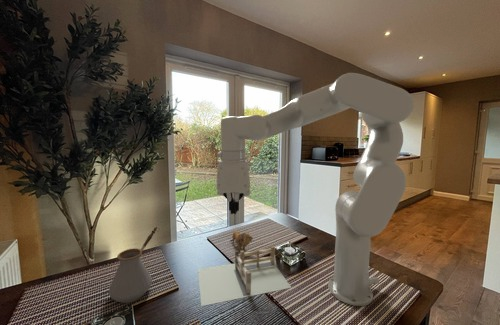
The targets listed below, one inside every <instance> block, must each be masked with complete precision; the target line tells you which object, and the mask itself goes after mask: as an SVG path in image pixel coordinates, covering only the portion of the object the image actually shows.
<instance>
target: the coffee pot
mask: <svg viewBox="0 0 500 325" xmlns="http://www.w3.org/2000/svg"><path fill="white" fill-rule="evenodd" d="M157 229H158V232H160V231H161V230H160V228H159V227H157V226H155V227H154V228H153V230H152V231H151V232H150V234H149V235H148V236H147V238H146V239H145V241H144V243H143V244H142V247H141V248H135V247H134V248H128V249H125V250H123V251H121V252H119V253H118V254H117V256H116V258H117V259H118V260H119V264H118V267H117V270H116V272H115V275H114V276H113V278H112V281H111V284H110V286H109V289H108V294H109V295H108V296H109V297H110V298H111V299H112V300H113V301H115V302H118V303H122V304H128V303H133V302H135V301H137V300H139V299H140V298H143V296H144V295H145V294H146V293H147V292H148V291H149V290H150V288H151V286H152V282H153V279H152V276H151V274H150V273H149V270H148V269H147V267H146V266H145V264H144V263H143V261H142V259H141V256H142V253H143V251H144V250H145V248H146V247H147V245H148V244H149V242H150V241H151V239H152V238H153V236H154V235H155V234H156V232H157Z"/></svg>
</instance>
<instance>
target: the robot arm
mask: <svg viewBox="0 0 500 325" xmlns="http://www.w3.org/2000/svg"><path fill="white" fill-rule="evenodd" d="M414 107H415V101H414V99H413V96H412V95H411V94H410V93H409V92H408V91H407V90H406V89H404V88H402V87H399V86H396V85H393V84H391V83H387V82H384V81H382V80H380V79H377V78H374V77H372V76H368V75H366V74H362V73H357V72H356V73H355V72H346V73H345V74H341V75H340V76H338V77H337V79H335V81H334V82H332V83H330V84H327V85H325V86H322V87H320V88H316V89H315V90H312V91H310V92H307V93H305V94H302V95H300V96H299V95H298V96H297V97H295V98H294V99H292V100H290V101H289V102H288V103H287V104H286V105H285V106H283V107H281V108H280V109H277V110H275V111H272V112H271V113H268V114H266V115H265V114H264V115H263V116H262V115H260V114H252V115H246V116H236V115H235V116H230V115H229V116H224V117H222V118H221V120H220V145H221V147H220V152H217V153H216V157H218V158H220V160H218V165H217V170H216V172H217V173H216V190H217V192H216V194H217V195H219V196H222V197H224V198H225V199H226V200H227V202H228V210H229V211H230V215H233V214H234V215H237V213H238V211H239V210H240V200H241V199H242V198H243V197H248V196H250V195H251V189H250V188H251V183H250V182H251V181H250V180H251V179H250V178H251V177H250V171H249V170H250V169H249V162H248V161H247V160H246V140H250V141H251V140H252V141H263V140H266V139H268V138H271V137H274V136H277V135H279V134H282V133H285V132H288V131H290V130H292V129H298V128H301V127H304V126H307V125H308V124H311V123H314V122H317V121H319V120H322V119H325V118H327V117H331V116H333V115H336V114H340V113H342V112H344V111H347V110H348V109H353V110H355V111H357V112H360V115H361V118H362V120H363V122H364V123H365V124H366V127H367V129H368V135H369V136H368V140H367V143H366V146H365V149H364V150H363V152H362V154H361V156H360V158H359V160H358V162H357V164H356V167H355V168H354V170H353V174H352V175H353V177H352V178H353V181H354V183H355V185H357V186H358V188H360V189H359V191H357V190H348V191H345V192H343V193H342V194H340V195H339V197H338V198H337V199H336V203H335V209H334V210H335V246H334V265H333V266H334V267H333V268H334V269H333V276H332V277H331V278H330V279H329V280H328V284H327V288H328V289H329V292H330V293H331V294H332V295H333V296H334V298H336V299H337V300H339V301H340V302H343V303H344V304H348V305H350V306H356V307H363V306H367V305H370V304H371V303H372V302H373V298H374V297H373V296H374V294H373V291H372V290H371V287H372V286H373V285H378V284H379V283H380V279H379V278H378V277H377V276H373V277H370V275H369V268H370V255H371V243H372V242H371V241H372V240H371V238H372V237H375V236H377V235H379V234H381V233H382V232H383V231H384V230H385V228H386V227H387V226H388V224H389V222H391V221H390V220H391V218H392V216H393V215H394V213H395V211H396V210H397V207H398V205H399V204H400V201H401V199H402V197H403V195H404V193H405V191H406V187H407V177H406V174H405V172H404V170H403V169H402V167H400V166H399V165H398V164H396V162H397V160H398V157H399V155H400V152H401V150H402V148H403V144H404V132H403V129H402V126H401V124H400V123H402V122H404V121H405V120H407V119H408V118H409V117H410V116H411V115H412V113H413V111H414ZM233 194H235V197H234V196H233ZM239 212H240V211H239Z"/></svg>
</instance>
